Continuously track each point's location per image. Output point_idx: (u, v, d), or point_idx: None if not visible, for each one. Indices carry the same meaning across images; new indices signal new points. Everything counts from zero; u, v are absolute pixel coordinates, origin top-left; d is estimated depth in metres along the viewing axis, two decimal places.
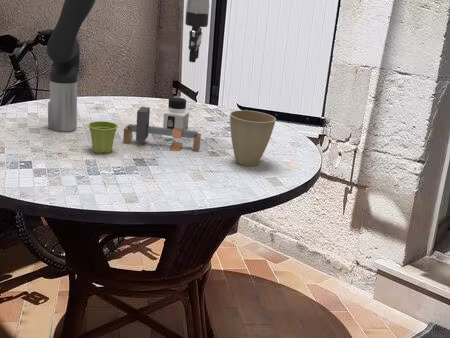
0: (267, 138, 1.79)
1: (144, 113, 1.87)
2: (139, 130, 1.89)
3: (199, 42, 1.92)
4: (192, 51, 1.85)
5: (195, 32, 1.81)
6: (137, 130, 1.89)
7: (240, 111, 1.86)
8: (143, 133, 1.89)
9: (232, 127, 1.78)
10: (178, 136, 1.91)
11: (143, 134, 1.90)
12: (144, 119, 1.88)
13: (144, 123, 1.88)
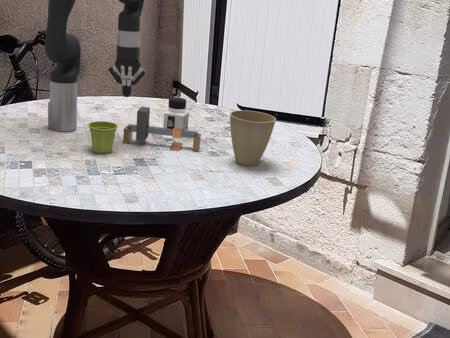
0: (267, 138, 1.79)
1: (144, 113, 1.87)
2: (139, 130, 1.89)
3: None
4: (131, 86, 1.88)
5: (145, 72, 1.87)
6: (137, 130, 1.89)
7: (240, 111, 1.86)
8: (143, 133, 1.89)
9: (232, 127, 1.78)
10: (178, 136, 1.91)
11: (143, 134, 1.90)
12: (144, 119, 1.88)
13: (144, 123, 1.88)
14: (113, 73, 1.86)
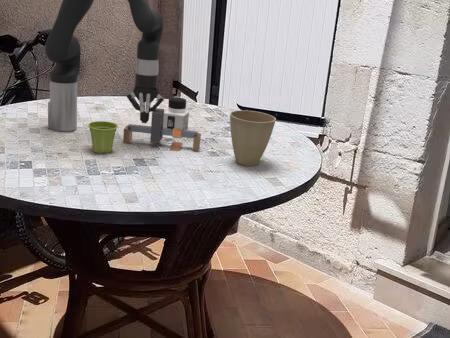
0: (267, 138, 1.79)
1: (159, 115, 1.87)
2: (154, 131, 1.89)
3: (144, 102, 1.91)
4: None
5: (163, 99, 1.89)
6: (152, 132, 1.89)
7: (240, 111, 1.86)
8: (158, 135, 1.89)
9: (232, 127, 1.78)
10: (178, 136, 1.91)
11: (158, 136, 1.89)
12: (159, 121, 1.88)
13: (159, 125, 1.88)
14: (131, 100, 1.88)
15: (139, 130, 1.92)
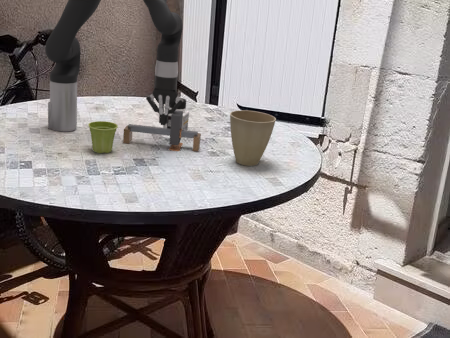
0: (267, 138, 1.79)
1: (178, 117, 1.87)
2: (173, 133, 1.89)
3: (163, 105, 1.91)
4: None
5: (182, 101, 1.89)
6: (171, 134, 1.89)
7: (240, 111, 1.86)
8: (177, 137, 1.89)
9: (232, 127, 1.78)
10: None
11: (177, 138, 1.89)
12: (178, 123, 1.88)
13: (178, 127, 1.88)
14: (151, 102, 1.88)
15: (139, 130, 1.92)
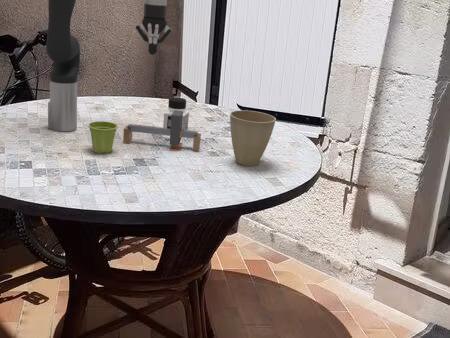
0: (267, 138, 1.79)
1: (178, 117, 1.87)
2: (173, 133, 1.89)
3: None
4: (157, 44, 1.95)
5: (171, 31, 1.93)
6: (171, 134, 1.89)
7: (240, 111, 1.86)
8: (177, 137, 1.89)
9: (232, 127, 1.78)
10: None
11: (177, 138, 1.89)
12: (178, 123, 1.88)
13: (178, 127, 1.88)
14: (140, 31, 1.92)
15: (139, 130, 1.92)
